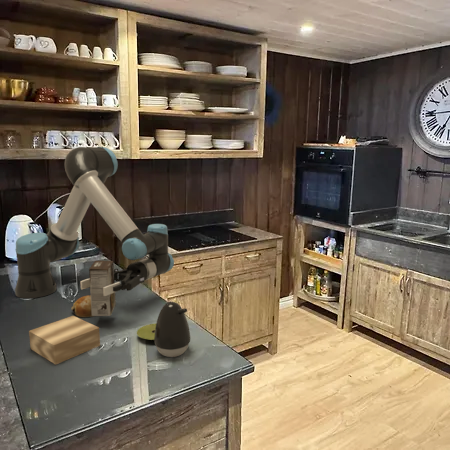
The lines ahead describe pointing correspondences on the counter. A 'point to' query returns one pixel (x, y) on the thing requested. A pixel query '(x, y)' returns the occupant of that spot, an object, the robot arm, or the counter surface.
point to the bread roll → (83, 307)
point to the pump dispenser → (172, 330)
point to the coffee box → (101, 288)
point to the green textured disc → (147, 331)
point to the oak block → (64, 339)
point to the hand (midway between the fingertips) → (92, 288)
